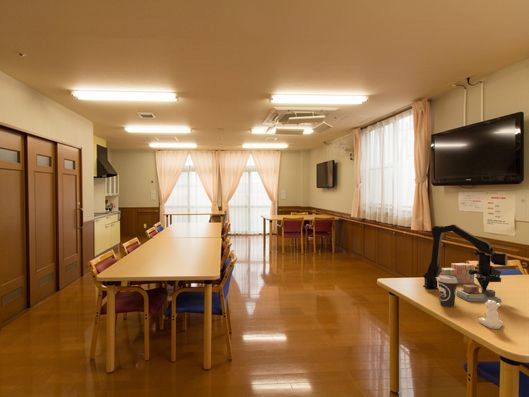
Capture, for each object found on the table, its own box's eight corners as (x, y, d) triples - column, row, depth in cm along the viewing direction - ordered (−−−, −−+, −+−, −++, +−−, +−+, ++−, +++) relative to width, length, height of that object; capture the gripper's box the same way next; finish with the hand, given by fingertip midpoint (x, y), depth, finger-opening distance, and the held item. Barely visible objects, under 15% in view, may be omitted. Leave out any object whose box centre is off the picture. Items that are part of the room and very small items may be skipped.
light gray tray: (468, 301, 176) (468, 292, 176) (456, 295, 187) (456, 286, 187) (500, 301, 176) (500, 292, 176) (486, 295, 187) (486, 286, 187)
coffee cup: (457, 309, 164) (457, 280, 164) (436, 305, 169) (436, 277, 169) (457, 304, 172) (458, 276, 172) (437, 300, 177) (437, 273, 177)
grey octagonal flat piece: (486, 296, 179) (486, 292, 179) (479, 293, 185) (479, 289, 185) (497, 296, 179) (497, 292, 179) (489, 293, 185) (489, 289, 185)
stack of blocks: (445, 284, 211) (445, 265, 211) (438, 281, 218) (438, 263, 218) (474, 283, 214) (474, 264, 214) (467, 280, 220) (467, 262, 220)
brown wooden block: (468, 296, 179) (468, 287, 179) (463, 294, 184) (463, 284, 184) (478, 296, 179) (479, 287, 179) (473, 294, 184) (473, 284, 184)
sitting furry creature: (502, 324, 145) (502, 298, 144) (508, 332, 137) (508, 304, 137) (477, 321, 148) (478, 295, 148) (482, 328, 140) (482, 301, 140)
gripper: (511, 266, 172) (511, 295, 172) (486, 259, 191) (486, 285, 191) (490, 266, 172) (490, 295, 172) (468, 259, 191) (468, 285, 191)
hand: (484, 290), depth 182 cm, fingers closed, pressing on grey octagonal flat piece
